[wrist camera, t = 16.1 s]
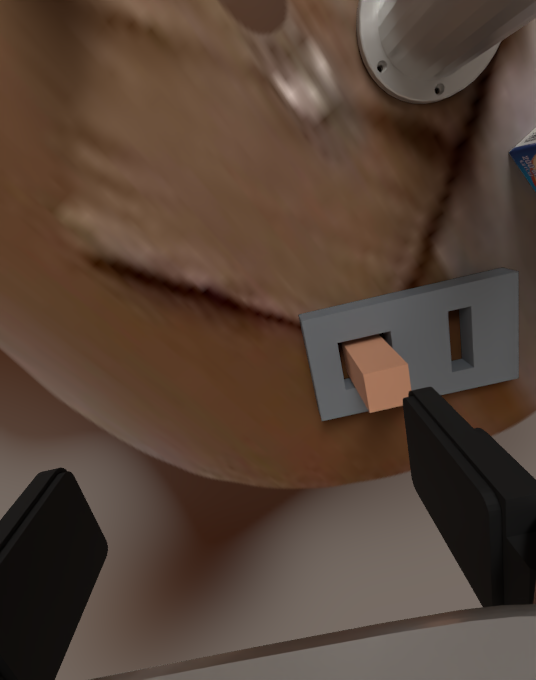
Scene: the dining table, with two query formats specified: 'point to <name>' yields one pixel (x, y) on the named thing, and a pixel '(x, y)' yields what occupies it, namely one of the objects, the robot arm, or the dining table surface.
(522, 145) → the juice carton
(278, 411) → the dining table surface
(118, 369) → the dining table surface
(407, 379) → the square peg
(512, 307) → the socket board
